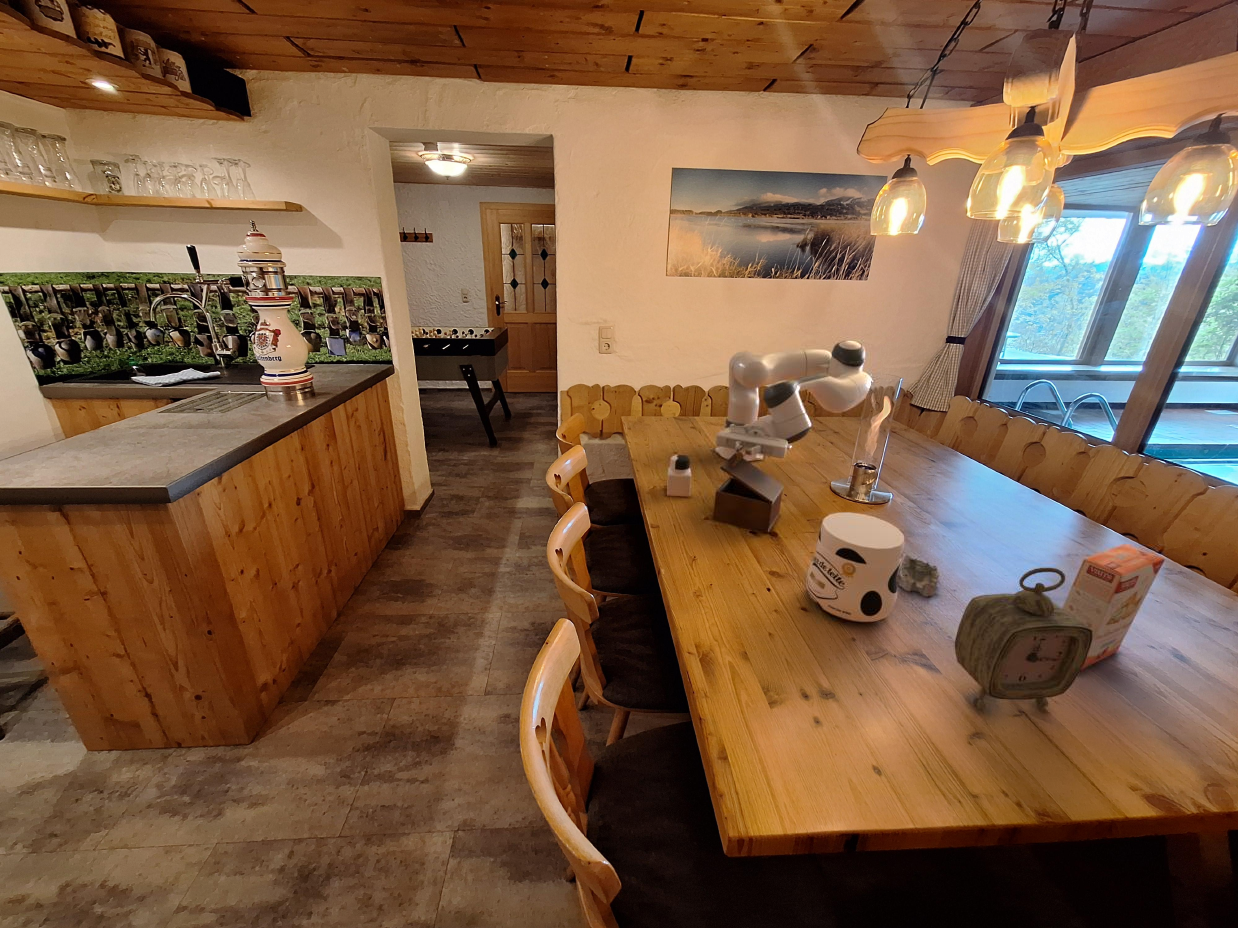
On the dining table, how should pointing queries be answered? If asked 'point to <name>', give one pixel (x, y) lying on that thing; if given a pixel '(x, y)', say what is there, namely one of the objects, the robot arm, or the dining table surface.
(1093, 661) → the cracker box
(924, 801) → the dining table surface
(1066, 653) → the tabletop clock
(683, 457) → the medicine bottle
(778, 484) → the chest lid
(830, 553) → the milk container
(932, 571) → the egg carton
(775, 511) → the chest
